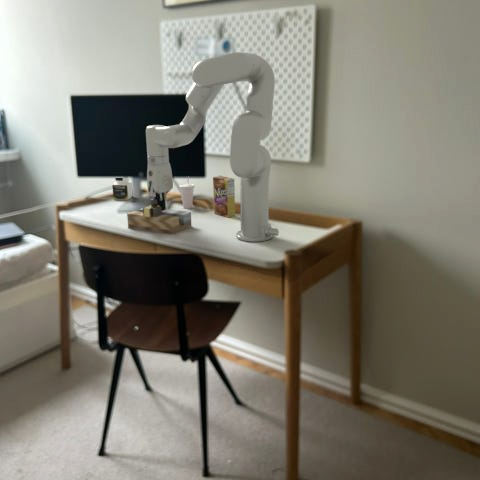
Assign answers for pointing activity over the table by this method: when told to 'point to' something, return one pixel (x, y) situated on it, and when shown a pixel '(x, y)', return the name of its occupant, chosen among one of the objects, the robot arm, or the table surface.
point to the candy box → (224, 196)
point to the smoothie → (187, 194)
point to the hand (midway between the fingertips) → (161, 209)
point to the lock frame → (160, 220)
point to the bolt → (150, 208)
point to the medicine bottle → (122, 189)
